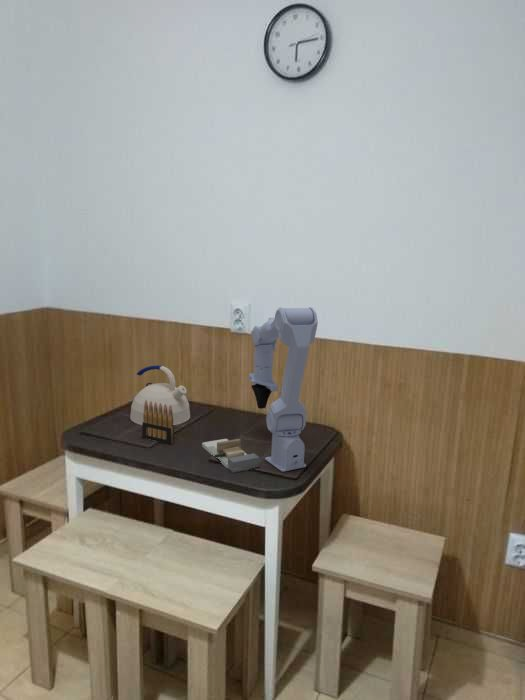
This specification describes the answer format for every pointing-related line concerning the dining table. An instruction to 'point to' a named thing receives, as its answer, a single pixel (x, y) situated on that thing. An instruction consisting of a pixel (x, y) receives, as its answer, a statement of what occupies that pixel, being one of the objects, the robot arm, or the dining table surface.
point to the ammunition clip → (158, 423)
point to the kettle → (161, 398)
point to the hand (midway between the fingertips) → (261, 407)
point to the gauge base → (233, 458)
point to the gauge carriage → (229, 448)
